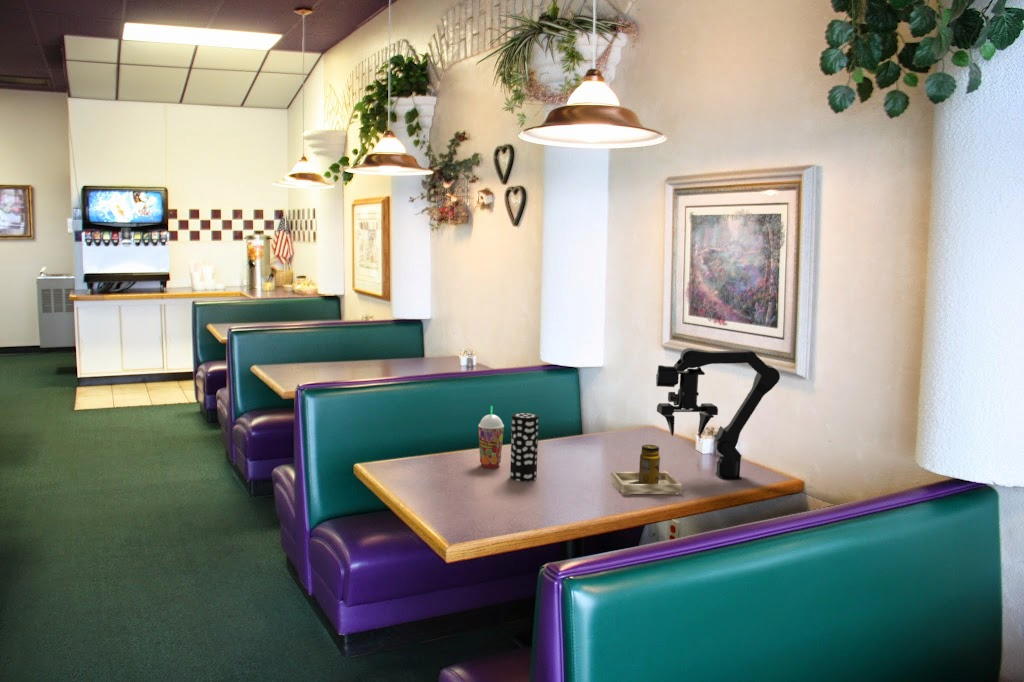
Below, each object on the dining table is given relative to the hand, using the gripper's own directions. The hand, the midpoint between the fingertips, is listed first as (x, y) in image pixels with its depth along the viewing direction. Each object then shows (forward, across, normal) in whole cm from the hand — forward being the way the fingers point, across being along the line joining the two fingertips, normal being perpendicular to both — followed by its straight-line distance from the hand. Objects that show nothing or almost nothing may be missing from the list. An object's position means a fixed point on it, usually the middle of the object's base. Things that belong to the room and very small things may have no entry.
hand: (685, 435), depth 280 cm
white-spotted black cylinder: (+13, +53, +2) cm, 55 cm away
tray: (+13, +17, +14) cm, 26 cm away
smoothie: (+13, +62, -12) cm, 65 cm away
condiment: (+12, +17, +14) cm, 25 cm away
